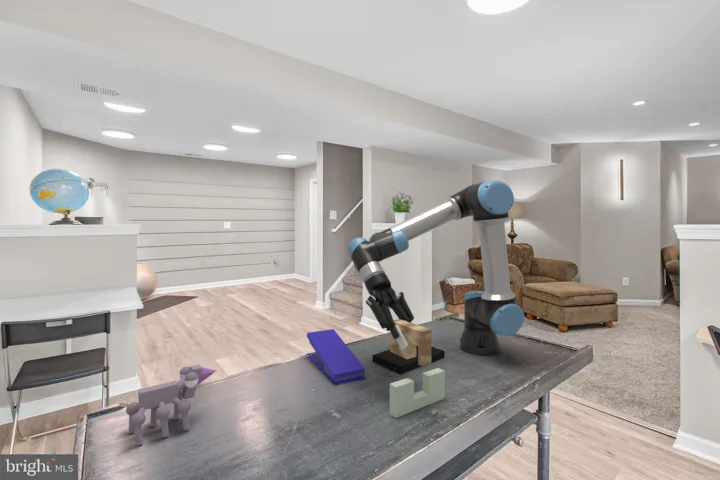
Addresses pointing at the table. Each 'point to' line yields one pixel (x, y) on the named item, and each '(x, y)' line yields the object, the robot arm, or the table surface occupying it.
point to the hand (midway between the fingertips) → (410, 346)
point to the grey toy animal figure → (166, 401)
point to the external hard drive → (404, 360)
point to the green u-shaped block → (408, 401)
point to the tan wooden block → (413, 342)
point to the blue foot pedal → (334, 357)
